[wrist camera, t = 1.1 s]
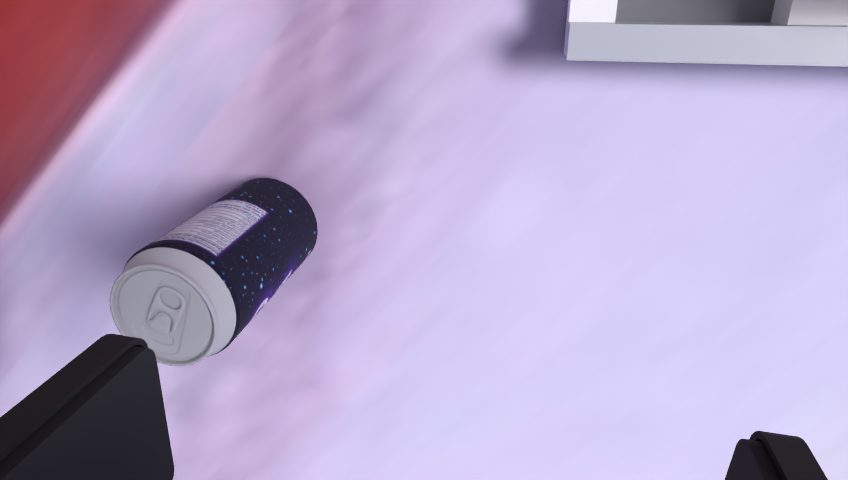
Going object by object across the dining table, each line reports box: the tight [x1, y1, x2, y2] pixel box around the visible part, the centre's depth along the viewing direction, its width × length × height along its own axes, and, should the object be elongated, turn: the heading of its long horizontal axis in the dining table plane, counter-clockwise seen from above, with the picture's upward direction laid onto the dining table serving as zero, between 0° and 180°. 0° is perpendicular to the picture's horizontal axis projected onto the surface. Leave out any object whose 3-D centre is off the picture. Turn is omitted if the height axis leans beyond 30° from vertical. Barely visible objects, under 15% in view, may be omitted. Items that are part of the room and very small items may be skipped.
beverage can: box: [110, 178, 317, 366], centre depth 30 cm, size 6×6×12 cm
